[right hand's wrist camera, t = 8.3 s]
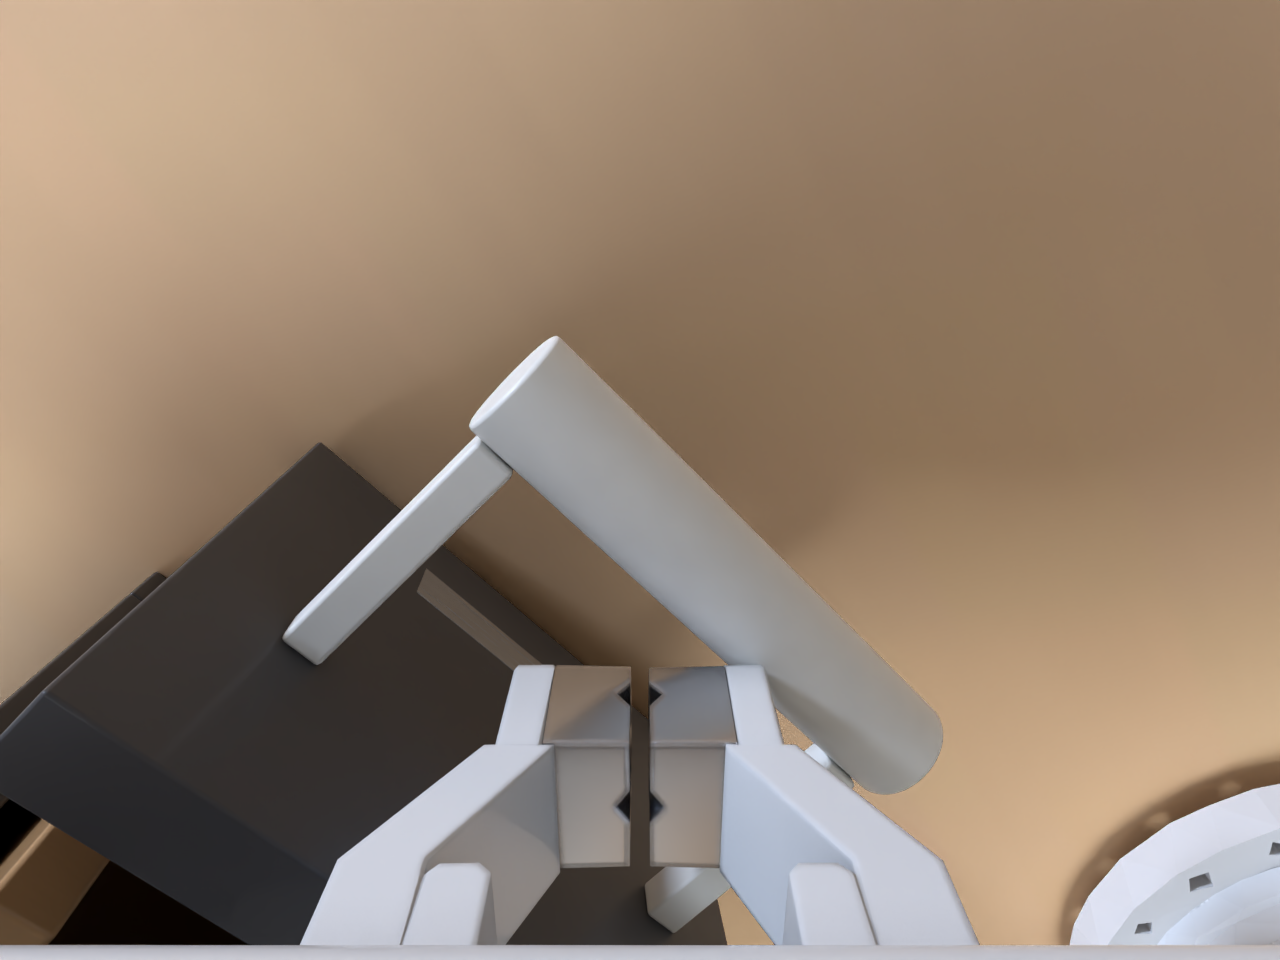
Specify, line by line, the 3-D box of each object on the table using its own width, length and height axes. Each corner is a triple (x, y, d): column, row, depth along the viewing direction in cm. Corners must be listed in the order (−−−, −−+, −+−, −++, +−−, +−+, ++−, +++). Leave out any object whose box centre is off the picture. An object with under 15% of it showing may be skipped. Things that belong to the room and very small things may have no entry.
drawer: (510, 241, 14) (436, 271, 6) (860, 599, 17) (1116, 931, 9) (-108, 889, 17) (-688, 1463, 9) (277, 1101, 20) (86, 1681, 12)
